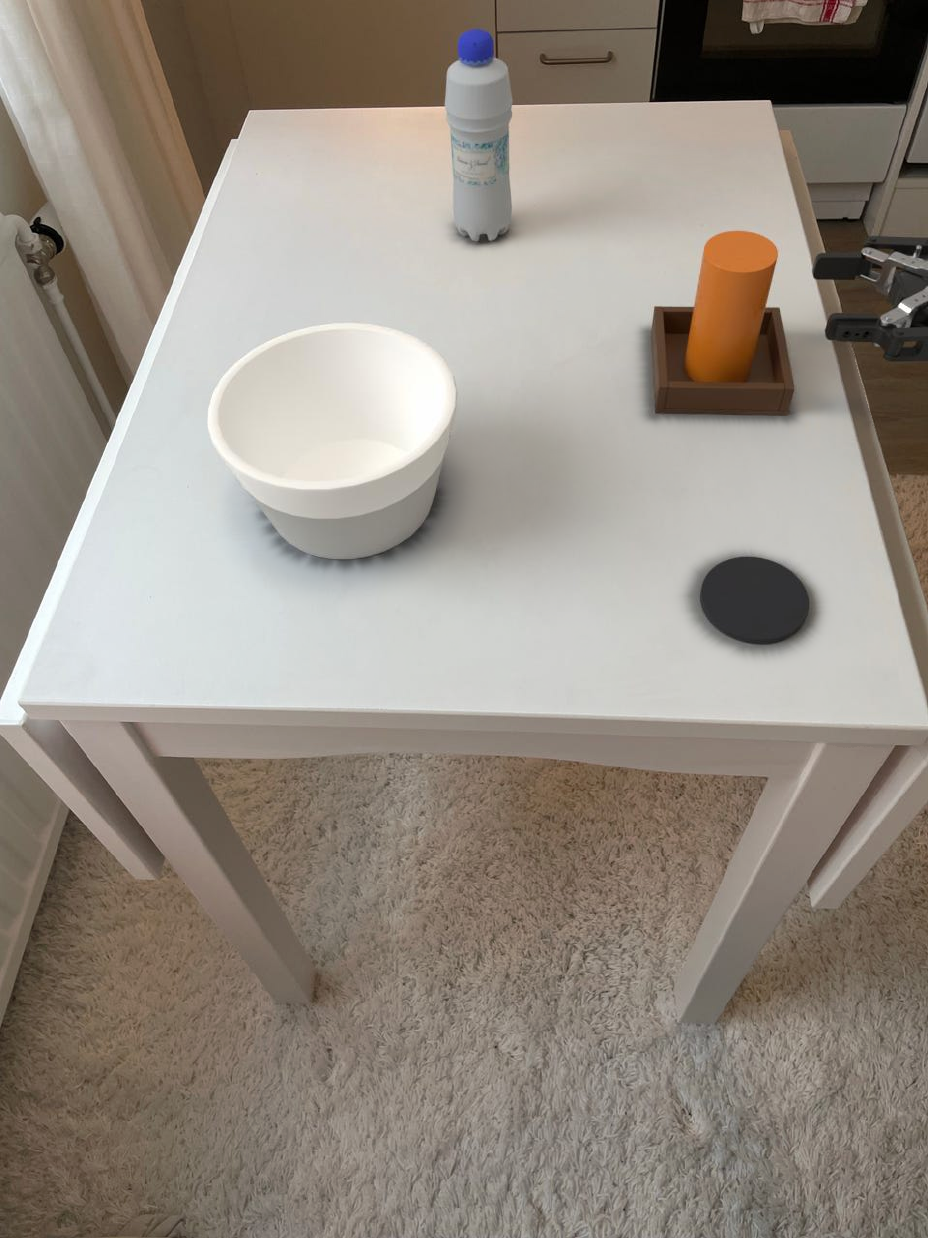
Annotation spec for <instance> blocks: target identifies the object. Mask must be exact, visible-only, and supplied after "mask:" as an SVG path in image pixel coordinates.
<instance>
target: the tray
mask: <svg viewBox="0 0 928 1238" xmlns="http://www.w3.org/2000/svg"><path fill="white" fill-rule="evenodd" d="M693 310H694V306H663V305H661V306H660V305H659V306H658V305H655V306H654V308H653V315H652V322H651V329H650V338H651V339H650V340H651V354H652V355H651V357H652V375H653V378H652V379H653V392H654V393H653V396H654V398H653V399H654V413H656V414H697V415H749V416H750V415H752V416H753V415H755V416H756V415H757V416H788V413H789V410H790V407H791V403H792V400H793V396H794V392H795V385H794V378H793V373H792V368H791V367H792V366H791V361H790V356H789V351H788V346H787V340H786V334H785V329H784V325H783V324H784V323H783V318H782V312H781V309H780V307H779V306H778V307H777V306H776V307H773V306H771V307H767V306H766V308H765V312H764V316H763V320H762V324H761V329H760V333H759V337H758V341H757V345H756V349H755V354H754V358H753V362H752V366H751V370H750V374H749V376H748V378H747V379H746V380H745V381H744V382H743V383H742V382H694V381H693V380H692V379H690V377H689V376H688V375H687V374H686V372H685V368H684V363H685V357H686V351H687V345H688V339H689V333H690V327H691V321H692V316H693Z"/></svg>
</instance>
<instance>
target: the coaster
mask: <svg viewBox="0 0 928 1238" xmlns="http://www.w3.org/2000/svg"><path fill="white" fill-rule="evenodd" d="M808 594H809V593H808V591H807V589H806V587H805V586H804V584H803V582H802V581H801V579H800V578H799V577H798V576H797V575H796V574H795V573H794V572H793V571H791V570H790V569H789V568H788V567H785V566H784V565H783V564H780V563H778V562H776V561H773V560H770V559H768V558H763V557H758V556H738V557H732V558H729V559H725V560H723V561H721V562H719V563H717V564H716V565H715V566H714V567H712V568H711V569H710V570H709V571H708V573H707V574H706V575H705V577H704V578H703V581H702V583H701V588H700V592H699V600H700V605H701V608H702V612H703V614H704V615H705V617H706V618H707V619H708V620H709V623H711V625H713V626H714V627H715V628H716V629H717V630H718V631H720V632H721V633H722V634H724V635H726V636H727V637H730V638H732V639H734V640H737V641H740V642H744V643H748V644H755V645H756V644H757V645H767V644H774V643H778V642H781V641H784V640H786V639H788V638H790V637H791V636H793V635H795V634H796V633H797V632H798V631H799V630H800V629H801V628H802V627H803V625H804V623H805V621H806V619H807V616H808V614H809V611H810V610H809V609H810V600H809V595H808Z"/></svg>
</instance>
